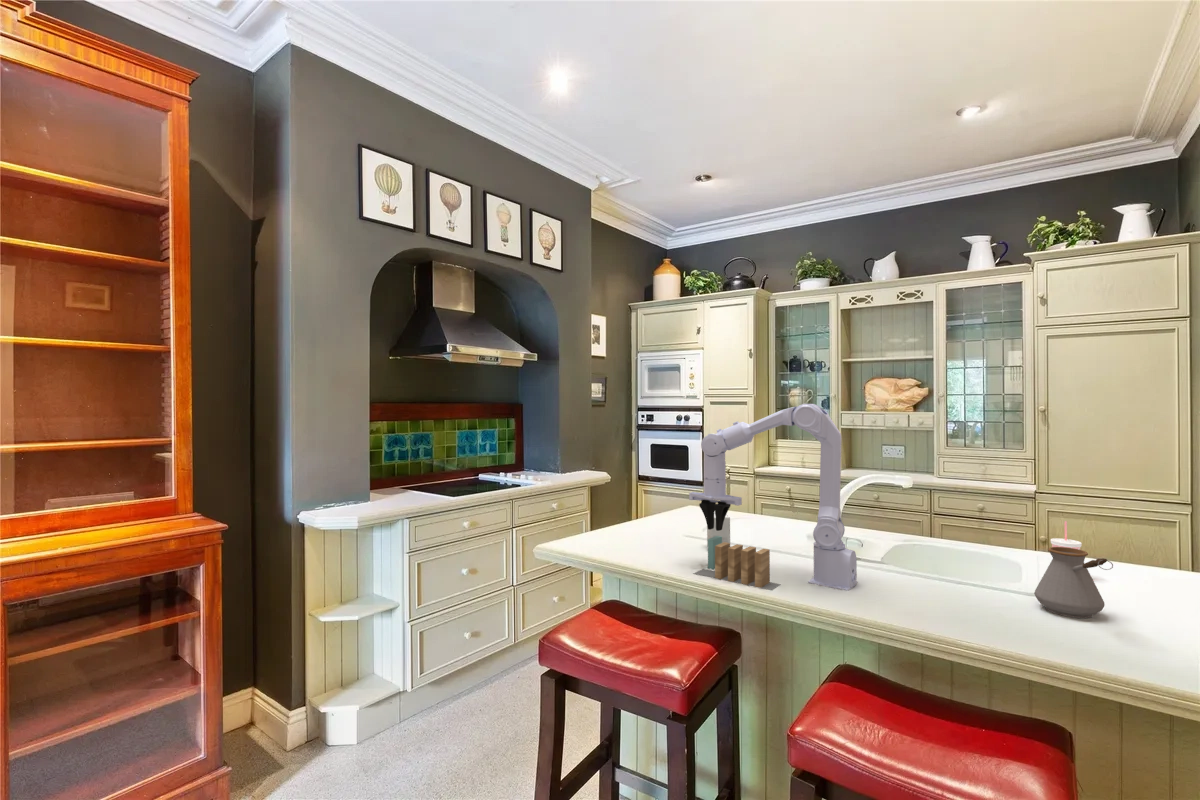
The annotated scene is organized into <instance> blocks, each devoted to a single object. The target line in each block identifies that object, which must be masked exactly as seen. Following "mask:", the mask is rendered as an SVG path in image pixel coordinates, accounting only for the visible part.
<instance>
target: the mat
mask: <svg viewBox="0 0 1200 800" xmlns="http://www.w3.org/2000/svg"><path fill="white" fill-rule="evenodd" d="M692 574H693V575H697V576H701V577H706V578H711V579H716V580H721V581H725V582H730V583H735V584H739V585H743V586H748V587H753V588H759V589H763V590H769V591H773V590H775V589H777V588H778V587H780V586H781V585H782V584H780V583H776V582H771V581H770V583H768V584H767V585H765V586H763V587H762V588H761V587H756V586H755V581H753V582H751V583H750V584H748V585H746V584H741V578H740V579H738V580H737V581H735V582H732V581H728V576H726V577H724V578H722V579H718V578H715V570H713V569H708V568H707V569H706V568H702V569H699V570H698V571H695V572H693V573H692Z"/></svg>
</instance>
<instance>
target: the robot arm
mask: <svg viewBox="0 0 1200 800" xmlns="http://www.w3.org/2000/svg"><path fill="white" fill-rule="evenodd" d="M780 426H789V427H793V426H796V427H797V428H799V429H800V430H803V431H805V432H807V433H809V434H811V435H812V437H814V438H815V439H816V440H817V441H818V442H819V443H820V460H819V461H820V463H819V471H820V472H819V501H818V502H819V503H818V504H819V505H818V507H819V508H818V513H817V524H816V525H815V527H814V528H813V532H812V536H813V539H814V542H813V577H812V578H810V579H809V580H808V581H807V584H811V585H816V586H822V587H827V588H832V589H838V590H843V591H846V592H847V591H850V590H851V589H853V588H854V586H856V585H857V584H858V580H857V577H858V576H857V575H858V573H857V571H858V569H857V565H858V563H857V560H858V559H857V553H856V551H855V550H853V549H848V548H847V547H846V544H845V543H844V542H843V540H842V538H843V536H844V535H845V530H846V529H845V525H844V522H843V520H842V515H841V514H842V511H841V484H842V483H841V478H842V475H841V473H842V432H841V431H840V430H839V429H838V427H837V425H836V424H835V423H834V421H833V420H832V418H831V415H829V412H828V411H826V410H825V409H824V408H822V406H820V405H818V404H815V403H802V404H800V405H798V406H792V407H788V408H784V409H781V410H779V411H776V412H774V413H772V414H769V415H767V416H765V417H763V418H760V419H758V420H755V421H754V422H752V423H747V422H745V421H739V420H738V421H734V422H733V423H732V425H730V426H728V427H726V428H724V429H722V428H718V429H717V430H716V433H708V434H707V435H706V436H704V437H703V438H702V440H701V443H700V447H701V451H702V453H703V492H694V491H692V492H689V494H688V497H689V501H699V502H700V501H701V502H700V503H699V504H698V505H699V508H700V509H701V512H702V513H703V516H704V519H705V521H706V528H707V527H708V529H709V530H710V529H713V528H714V513H715V516H716V531H720V530H722V527H723V522H724V519H725V516H726V515H727V514H728V511H729V510H730V508H731V505H734V506H741V505H742V503H743V501H742V499H743V497H741V496H735V495H729V494H727V493H726V492H727V490H726V489H727V488H726V487H727V485H726V484H727V483H726V481H727V479H726V477H727V476H726V475H727V474H726V471H727V467H726V466H727V465H726V464H727V463H726V452H727V451H731V450H734V449H737V448H739V447H741V446H744V445H747V444H749V443H751V442H752V441H753V440H754V437H755V436H756V435H759V434H761V433H763V432H766V431H769V430H772V429H774V428H778V427H780Z"/></svg>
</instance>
